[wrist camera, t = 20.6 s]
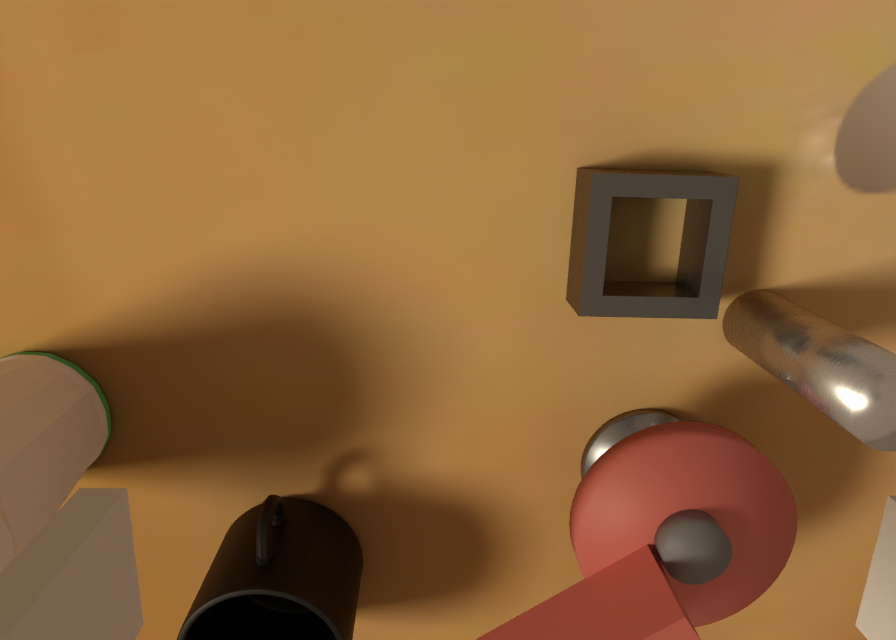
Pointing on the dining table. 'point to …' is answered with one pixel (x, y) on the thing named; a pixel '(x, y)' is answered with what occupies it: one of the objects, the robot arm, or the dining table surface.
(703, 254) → the collar
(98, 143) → the dining table surface
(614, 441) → the silver curved piece
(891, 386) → the peg
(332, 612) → the mug
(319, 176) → the dining table surface
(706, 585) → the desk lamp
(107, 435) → the cup
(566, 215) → the dining table surface
